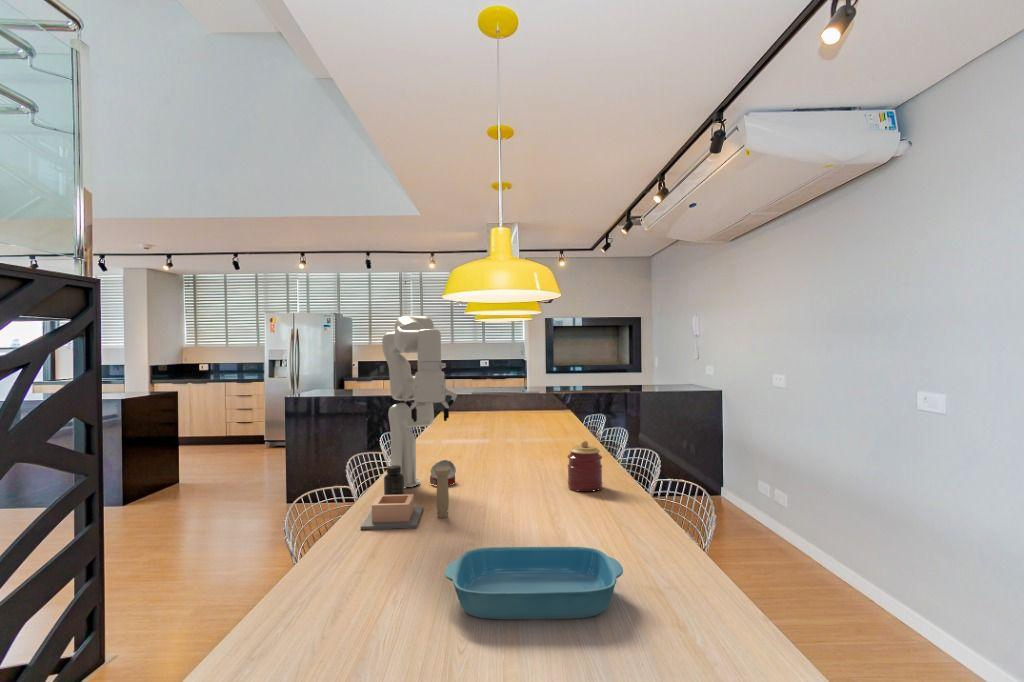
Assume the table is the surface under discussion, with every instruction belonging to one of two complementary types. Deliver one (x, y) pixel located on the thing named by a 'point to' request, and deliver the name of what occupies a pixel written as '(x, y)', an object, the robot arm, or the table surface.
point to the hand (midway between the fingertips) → (430, 421)
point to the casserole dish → (534, 582)
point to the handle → (442, 490)
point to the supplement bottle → (394, 481)
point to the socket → (393, 512)
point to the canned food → (450, 477)
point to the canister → (584, 468)
